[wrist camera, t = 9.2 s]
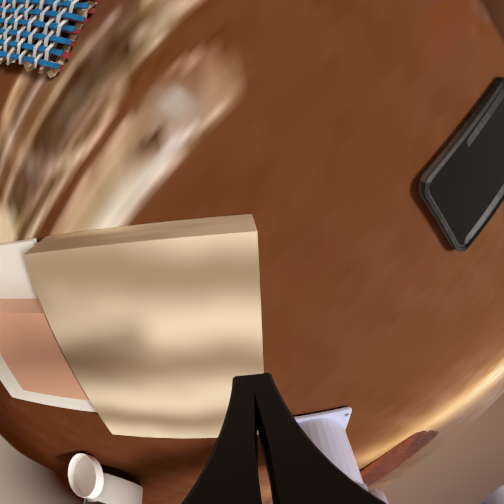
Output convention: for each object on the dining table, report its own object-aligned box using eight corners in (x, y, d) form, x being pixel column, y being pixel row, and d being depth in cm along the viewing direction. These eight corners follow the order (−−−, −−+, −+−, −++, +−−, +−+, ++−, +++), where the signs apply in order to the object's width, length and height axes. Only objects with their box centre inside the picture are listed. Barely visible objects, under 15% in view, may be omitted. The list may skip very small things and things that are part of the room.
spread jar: (129, 489, 34) (123, 546, 23) (65, 463, 30) (51, 521, 19) (156, 473, 30) (151, 544, 20) (78, 442, 27) (60, 515, 16)
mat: (109, 409, 24) (108, 413, 23) (13, 394, 23) (12, 397, 22) (35, 238, 17) (32, 240, 16) (-56, 254, 16) (-60, 256, 15)
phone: (537, 143, 16) (460, 257, 19) (529, 141, 17) (452, 251, 20) (507, 71, 13) (418, 186, 17) (498, 71, 14) (409, 183, 18)
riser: (262, 407, 25) (265, 433, 22) (118, 410, 24) (112, 434, 21) (251, 213, 17) (257, 230, 15) (46, 236, 17) (23, 254, 14)
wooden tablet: (335, 498, 43) (337, 505, 41) (299, 499, 40) (301, 506, 38) (442, 429, 35) (446, 435, 34) (416, 425, 32) (420, 433, 31)
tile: (94, 384, 22) (88, 400, 20) (30, 376, 21) (23, 389, 19) (55, 297, 18) (43, 313, 16) (-10, 298, 17) (-22, 311, 16)
